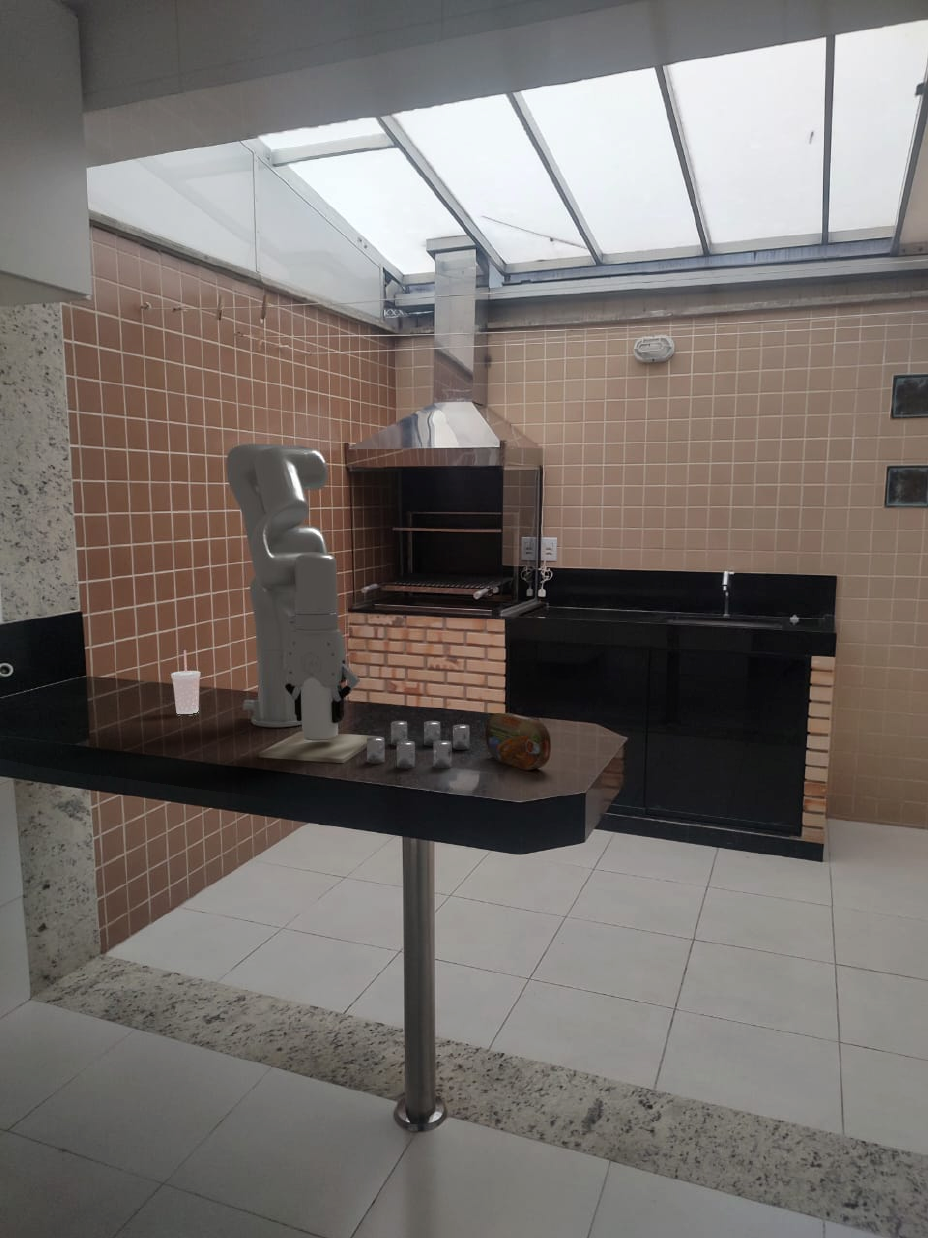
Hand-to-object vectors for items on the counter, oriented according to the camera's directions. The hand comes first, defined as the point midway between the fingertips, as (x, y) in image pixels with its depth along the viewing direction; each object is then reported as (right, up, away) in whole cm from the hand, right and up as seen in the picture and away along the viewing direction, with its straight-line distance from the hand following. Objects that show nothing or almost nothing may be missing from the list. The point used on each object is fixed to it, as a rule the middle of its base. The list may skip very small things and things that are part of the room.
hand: (319, 719), depth 148 cm
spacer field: (+18, -6, -4) cm, 20 cm away
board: (0, -5, +1) cm, 5 cm away
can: (0, -3, 0) cm, 3 cm away
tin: (+35, -7, -10) cm, 37 cm away
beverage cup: (-34, -3, +30) cm, 46 cm away
